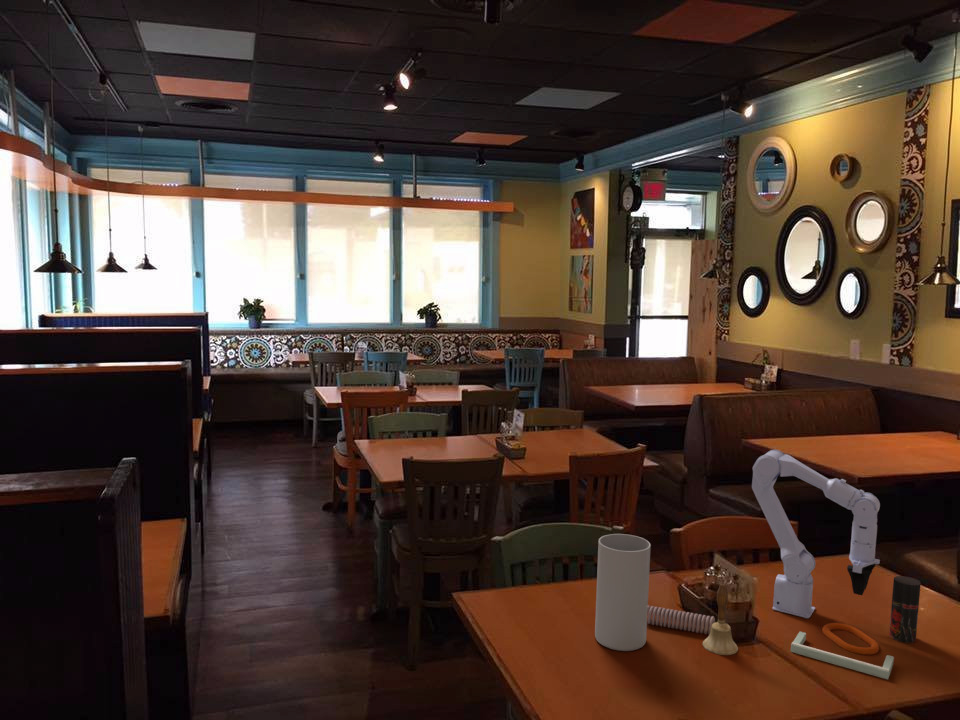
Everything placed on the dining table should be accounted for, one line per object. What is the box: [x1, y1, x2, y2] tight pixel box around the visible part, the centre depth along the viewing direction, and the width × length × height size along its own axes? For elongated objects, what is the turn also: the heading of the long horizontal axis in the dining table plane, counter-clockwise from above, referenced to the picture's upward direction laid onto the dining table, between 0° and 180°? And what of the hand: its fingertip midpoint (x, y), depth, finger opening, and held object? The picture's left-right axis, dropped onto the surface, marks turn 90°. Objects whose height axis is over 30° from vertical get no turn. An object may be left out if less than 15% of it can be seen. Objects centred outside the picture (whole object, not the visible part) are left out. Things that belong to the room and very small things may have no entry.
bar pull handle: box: [790, 631, 895, 680], centre depth 180 cm, size 21×9×2 cm, turn 54°
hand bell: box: [702, 583, 739, 656], centre depth 184 cm, size 8×8×16 cm
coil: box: [647, 604, 716, 636], centre depth 194 cm, size 5×5×18 cm
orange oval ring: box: [821, 622, 880, 656], centre depth 189 cm, size 10×2×15 cm
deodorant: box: [888, 575, 922, 644], centre depth 191 cm, size 6×6×15 cm
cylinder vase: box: [594, 533, 652, 652], centre depth 186 cm, size 12×12×25 cm
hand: (859, 591), depth 197 cm, fingers open, 4 cm apart
